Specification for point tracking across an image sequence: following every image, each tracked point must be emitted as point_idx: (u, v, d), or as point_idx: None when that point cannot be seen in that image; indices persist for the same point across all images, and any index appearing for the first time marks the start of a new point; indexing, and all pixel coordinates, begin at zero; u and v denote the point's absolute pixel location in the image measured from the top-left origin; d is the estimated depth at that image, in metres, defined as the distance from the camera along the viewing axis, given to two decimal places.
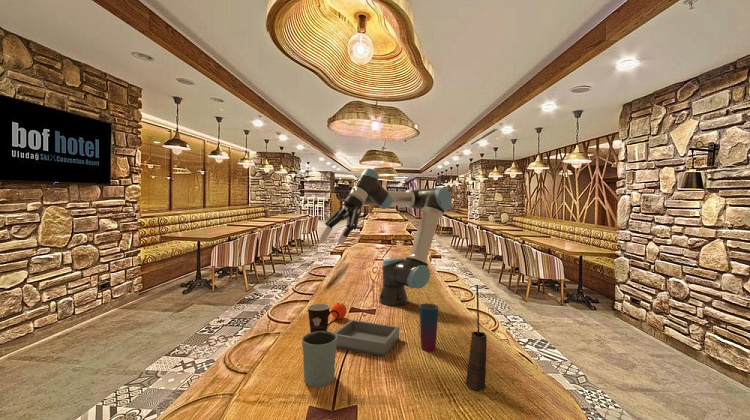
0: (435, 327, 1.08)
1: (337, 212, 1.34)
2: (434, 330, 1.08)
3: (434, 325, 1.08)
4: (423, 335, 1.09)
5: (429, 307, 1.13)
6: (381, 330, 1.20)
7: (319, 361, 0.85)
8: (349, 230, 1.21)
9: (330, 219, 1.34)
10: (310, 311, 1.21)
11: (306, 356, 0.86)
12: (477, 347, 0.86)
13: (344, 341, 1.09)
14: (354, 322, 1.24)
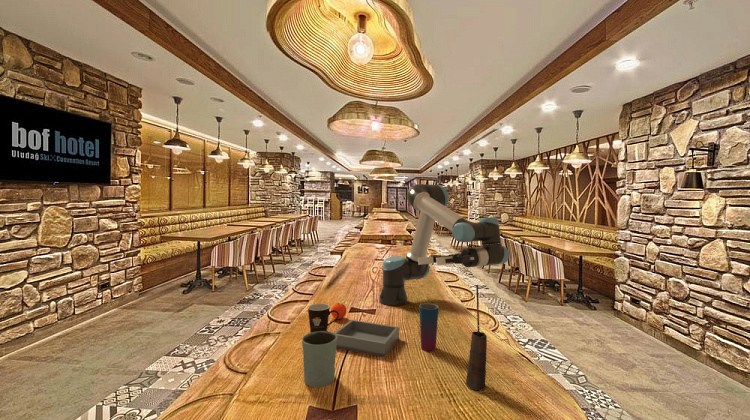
0: (435, 327, 1.08)
1: None
2: (434, 330, 1.08)
3: (434, 325, 1.08)
4: (423, 335, 1.09)
5: (429, 307, 1.13)
6: (381, 330, 1.20)
7: (319, 361, 0.85)
8: None
9: None
10: (310, 311, 1.21)
11: (306, 356, 0.86)
12: (477, 347, 0.86)
13: (344, 341, 1.09)
14: (354, 322, 1.24)
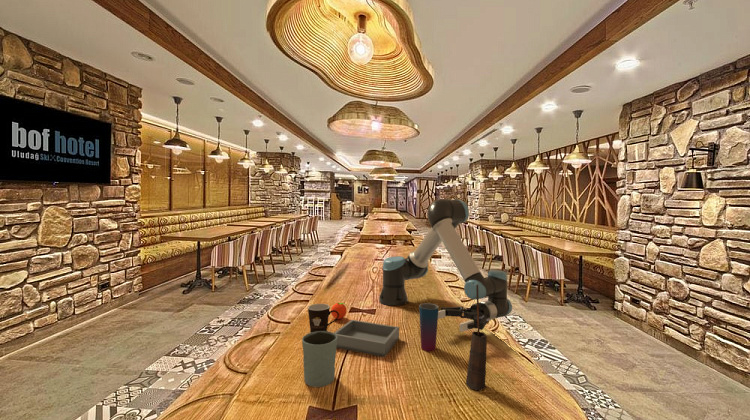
0: (435, 327, 1.08)
1: None
2: (434, 330, 1.08)
3: (434, 325, 1.08)
4: (423, 335, 1.09)
5: (429, 307, 1.13)
6: (381, 330, 1.20)
7: (319, 361, 0.85)
8: None
9: None
10: (310, 311, 1.21)
11: (306, 356, 0.86)
12: (477, 347, 0.86)
13: (344, 341, 1.09)
14: (354, 322, 1.24)
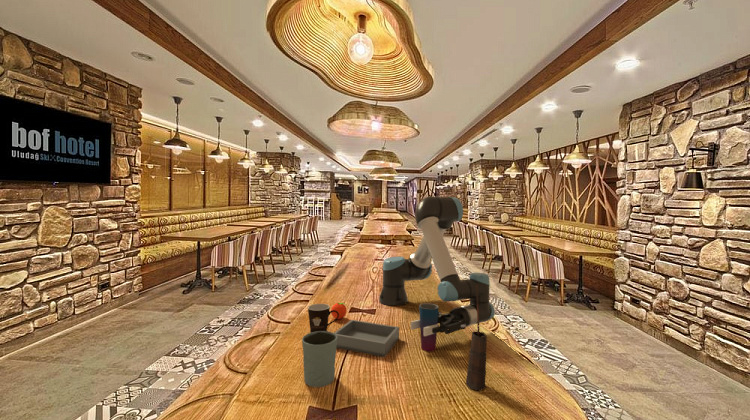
0: None
1: None
2: None
3: None
4: None
5: (429, 307, 1.13)
6: (381, 330, 1.20)
7: (319, 361, 0.85)
8: None
9: None
10: (310, 311, 1.21)
11: (306, 356, 0.86)
12: (477, 347, 0.86)
13: (344, 341, 1.09)
14: (354, 322, 1.24)
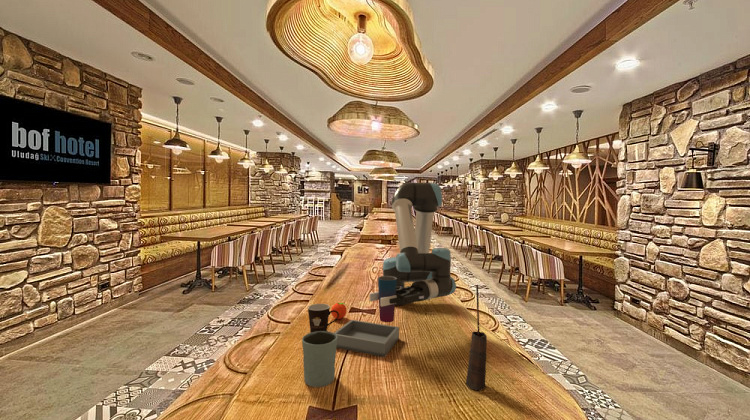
0: None
1: None
2: None
3: None
4: (381, 307, 1.09)
5: (388, 279, 1.14)
6: (381, 330, 1.20)
7: (319, 361, 0.85)
8: None
9: None
10: (310, 311, 1.21)
11: (306, 356, 0.86)
12: (477, 347, 0.86)
13: (344, 341, 1.09)
14: (354, 322, 1.24)
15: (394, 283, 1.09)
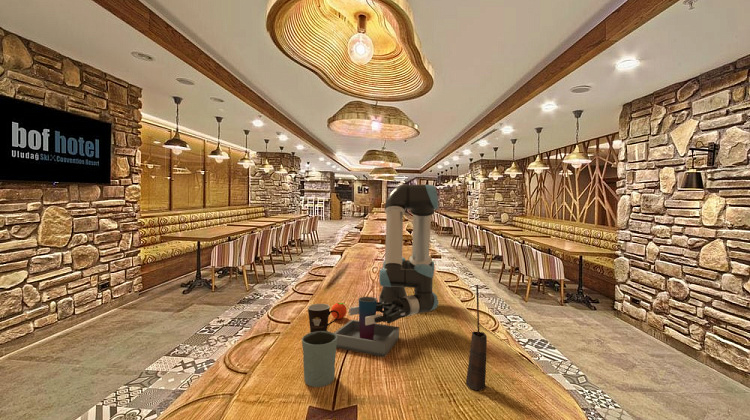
0: None
1: None
2: None
3: None
4: (361, 327, 1.13)
5: (369, 300, 1.18)
6: (381, 330, 1.20)
7: (319, 361, 0.85)
8: None
9: None
10: (310, 311, 1.21)
11: (306, 356, 0.86)
12: (477, 347, 0.86)
13: (344, 341, 1.09)
14: (354, 322, 1.24)
15: (374, 304, 1.12)
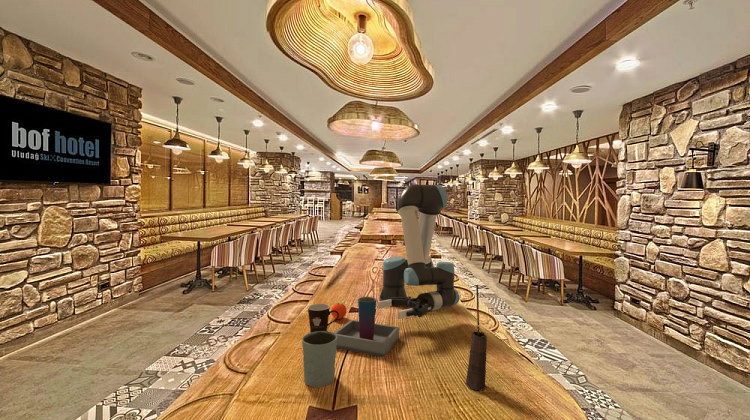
0: (372, 319, 1.12)
1: None
2: (371, 322, 1.12)
3: (371, 317, 1.12)
4: (360, 327, 1.13)
5: (369, 300, 1.17)
6: (381, 330, 1.20)
7: (319, 361, 0.85)
8: None
9: None
10: (310, 311, 1.21)
11: (306, 356, 0.86)
12: (477, 347, 0.86)
13: (344, 341, 1.09)
14: (354, 322, 1.24)
15: (373, 305, 1.12)
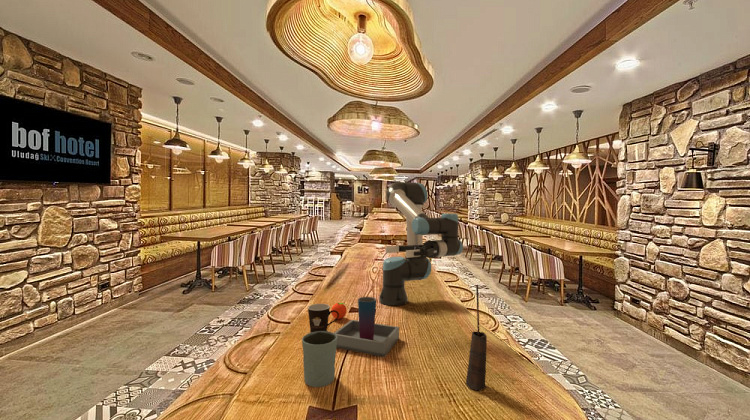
0: (372, 319, 1.12)
1: None
2: (371, 322, 1.12)
3: (371, 317, 1.12)
4: (360, 327, 1.13)
5: (369, 300, 1.17)
6: (381, 330, 1.20)
7: (319, 361, 0.85)
8: None
9: None
10: (310, 311, 1.21)
11: (306, 356, 0.86)
12: (477, 347, 0.86)
13: (344, 341, 1.09)
14: (354, 322, 1.24)
15: (373, 305, 1.12)
